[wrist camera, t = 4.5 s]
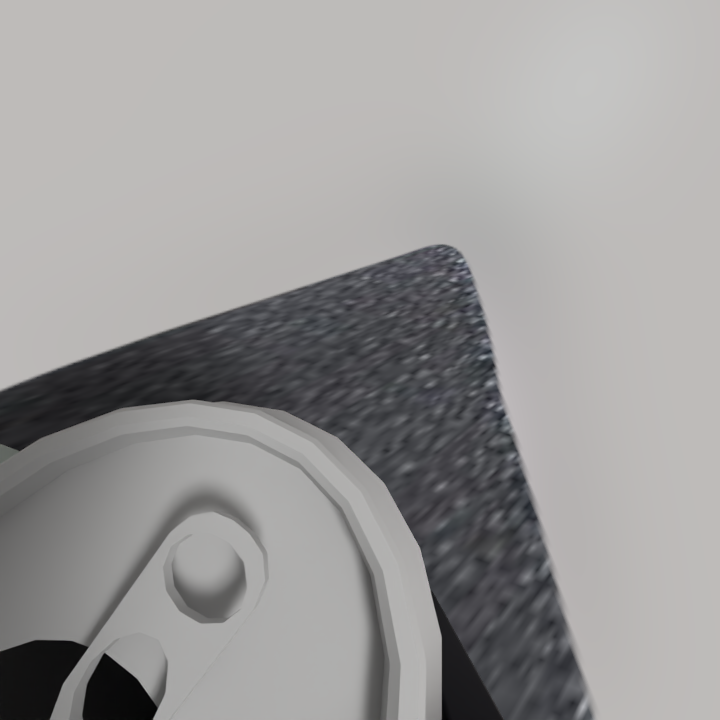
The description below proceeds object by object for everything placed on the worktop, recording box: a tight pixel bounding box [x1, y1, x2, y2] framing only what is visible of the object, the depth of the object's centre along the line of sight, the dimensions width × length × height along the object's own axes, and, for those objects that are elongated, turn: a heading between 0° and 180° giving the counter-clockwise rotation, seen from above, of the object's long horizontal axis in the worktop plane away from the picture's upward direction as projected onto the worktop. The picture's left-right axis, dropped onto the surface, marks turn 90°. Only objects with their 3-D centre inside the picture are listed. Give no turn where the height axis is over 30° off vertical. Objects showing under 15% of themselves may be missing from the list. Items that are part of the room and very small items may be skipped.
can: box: [0, 400, 442, 720], centre depth 8 cm, size 8×8×12 cm
